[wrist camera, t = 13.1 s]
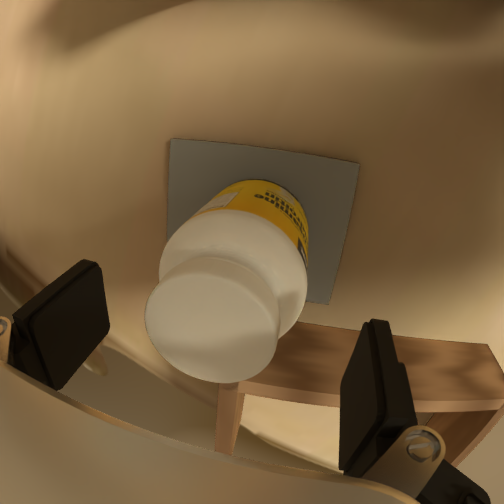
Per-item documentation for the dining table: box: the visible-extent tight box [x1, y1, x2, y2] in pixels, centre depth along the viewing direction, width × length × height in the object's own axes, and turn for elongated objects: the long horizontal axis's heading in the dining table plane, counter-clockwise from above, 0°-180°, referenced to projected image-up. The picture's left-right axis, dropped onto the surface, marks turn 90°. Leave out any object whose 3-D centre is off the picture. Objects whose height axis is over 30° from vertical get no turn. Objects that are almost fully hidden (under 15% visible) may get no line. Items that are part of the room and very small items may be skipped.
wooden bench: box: [215, 322, 504, 468], centre depth 23 cm, size 22×14×7 cm, turn 83°
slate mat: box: [167, 138, 360, 305], centre depth 21 cm, size 12×10×1 cm
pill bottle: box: [145, 178, 308, 383], centre depth 16 cm, size 6×6×12 cm
